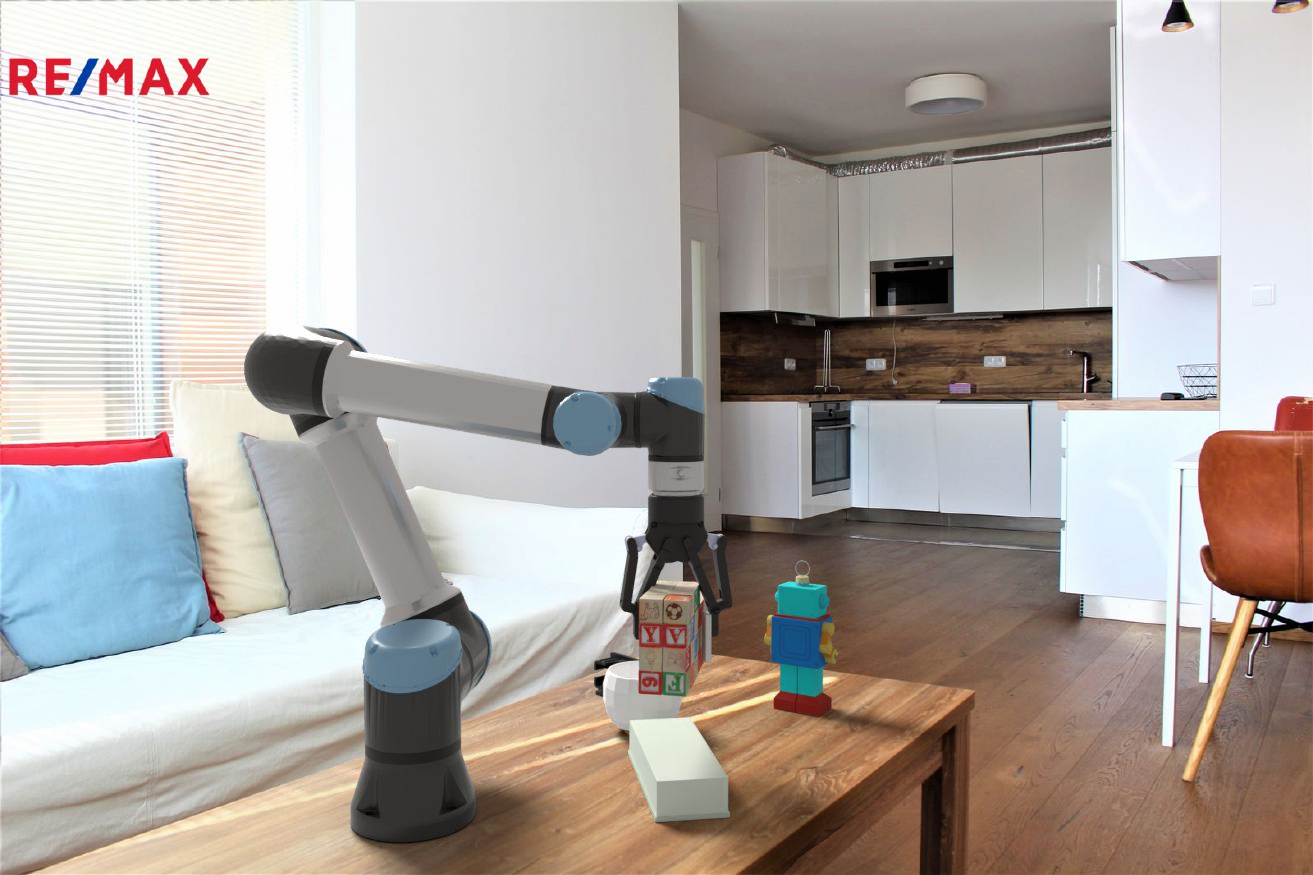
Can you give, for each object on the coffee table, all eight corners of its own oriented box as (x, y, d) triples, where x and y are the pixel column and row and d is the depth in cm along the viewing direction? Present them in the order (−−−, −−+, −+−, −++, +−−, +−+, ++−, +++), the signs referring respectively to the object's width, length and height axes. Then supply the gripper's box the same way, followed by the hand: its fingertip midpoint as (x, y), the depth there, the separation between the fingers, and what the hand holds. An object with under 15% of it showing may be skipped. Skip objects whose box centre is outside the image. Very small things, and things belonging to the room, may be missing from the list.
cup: (662, 714, 169) (663, 656, 169) (695, 738, 158) (695, 675, 157) (592, 724, 164) (592, 664, 164) (620, 748, 153) (620, 684, 152)
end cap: (660, 698, 178) (660, 660, 178) (629, 707, 174) (629, 667, 173) (623, 686, 186) (623, 649, 185) (592, 693, 181) (592, 655, 181)
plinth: (655, 822, 127) (655, 782, 126) (627, 753, 151) (627, 719, 150) (729, 817, 128) (730, 777, 128) (690, 750, 152) (691, 716, 152)
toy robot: (841, 710, 172) (842, 561, 171) (826, 719, 167) (828, 566, 166) (778, 698, 178) (779, 554, 177) (762, 707, 173) (763, 559, 172)
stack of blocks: (667, 652, 150) (667, 568, 150) (709, 654, 149) (710, 570, 149) (637, 694, 129) (638, 596, 129) (687, 697, 128) (688, 599, 128)
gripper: (602, 496, 132) (603, 672, 133) (758, 494, 136) (757, 665, 137) (596, 491, 140) (596, 658, 141) (743, 488, 143) (743, 651, 144)
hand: (675, 661), depth 139 cm, fingers closed on stack of blocks, 8 cm apart
